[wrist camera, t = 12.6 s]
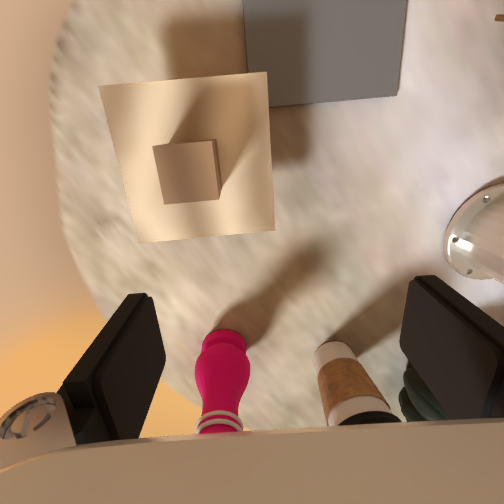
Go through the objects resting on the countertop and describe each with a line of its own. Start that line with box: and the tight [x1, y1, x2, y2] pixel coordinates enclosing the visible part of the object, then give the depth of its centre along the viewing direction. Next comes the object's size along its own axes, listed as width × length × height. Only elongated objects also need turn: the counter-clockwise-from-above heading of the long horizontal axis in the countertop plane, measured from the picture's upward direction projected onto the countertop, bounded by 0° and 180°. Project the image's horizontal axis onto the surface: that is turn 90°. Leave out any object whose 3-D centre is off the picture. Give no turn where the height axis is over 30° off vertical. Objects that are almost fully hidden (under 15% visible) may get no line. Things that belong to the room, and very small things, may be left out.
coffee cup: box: [313, 341, 402, 426], centre depth 36 cm, size 8×8×15 cm
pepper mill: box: [195, 330, 250, 434], centre depth 32 cm, size 7×7×20 cm
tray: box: [243, 0, 407, 107], centre depth 26 cm, size 15×15×1 cm
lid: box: [99, 72, 275, 243], centre depth 23 cm, size 13×13×6 cm
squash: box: [399, 367, 451, 422], centre depth 40 cm, size 14×15×15 cm
